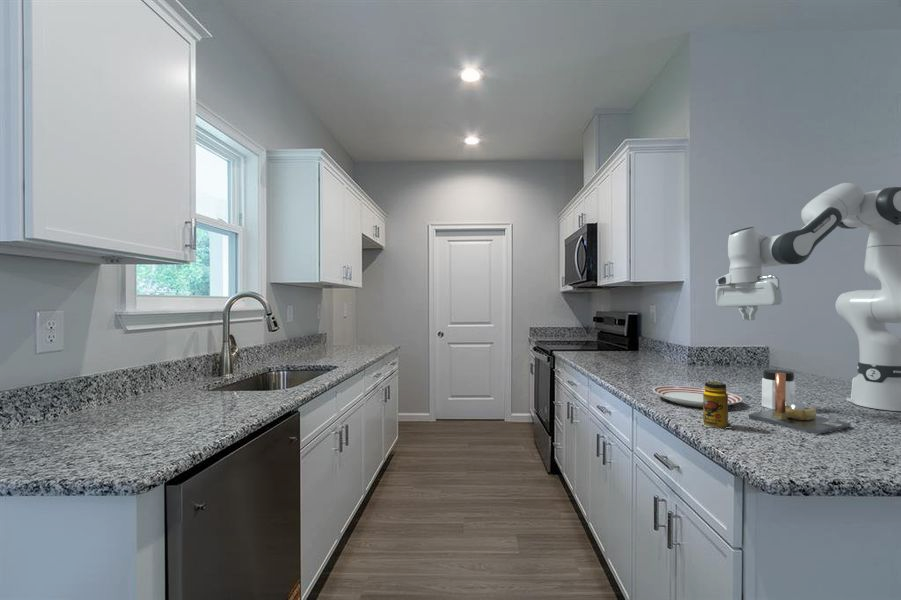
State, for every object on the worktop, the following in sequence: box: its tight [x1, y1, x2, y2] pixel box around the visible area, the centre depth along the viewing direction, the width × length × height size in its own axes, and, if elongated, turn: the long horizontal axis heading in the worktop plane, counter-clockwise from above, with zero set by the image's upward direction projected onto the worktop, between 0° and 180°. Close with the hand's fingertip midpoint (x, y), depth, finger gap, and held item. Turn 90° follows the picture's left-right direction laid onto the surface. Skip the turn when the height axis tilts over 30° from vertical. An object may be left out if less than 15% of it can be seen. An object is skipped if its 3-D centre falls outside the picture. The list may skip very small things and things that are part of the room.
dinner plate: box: [652, 385, 743, 408], centre depth 157 cm, size 27×27×3 cm
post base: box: [748, 402, 852, 435], centre depth 130 cm, size 17×18×5 cm
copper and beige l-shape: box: [774, 373, 817, 420], centre depth 130 cm, size 14×7×13 cm, turn 116°
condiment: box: [700, 381, 733, 430], centre depth 128 cm, size 7×8×12 cm
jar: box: [761, 369, 796, 410], centre depth 148 cm, size 9×8×12 cm
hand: (748, 320), depth 146 cm, fingers closed
